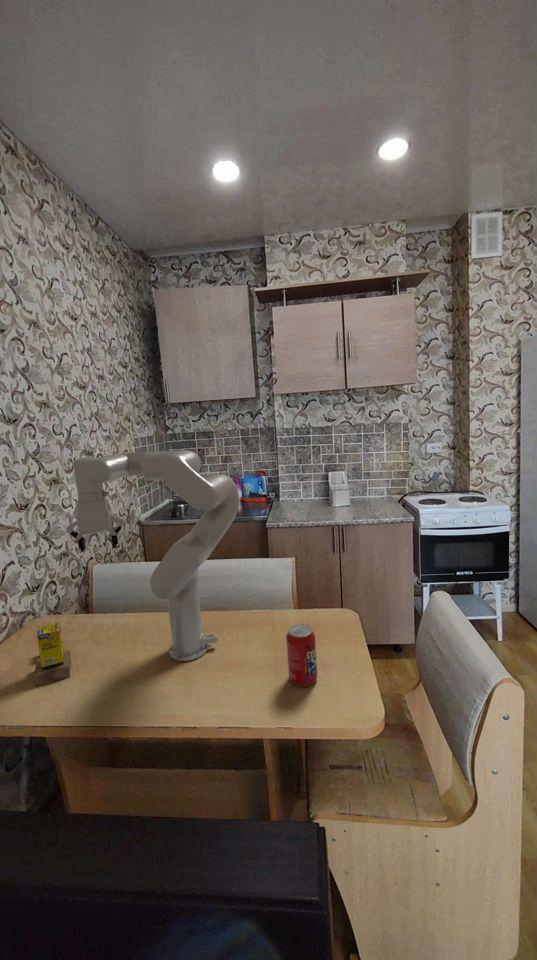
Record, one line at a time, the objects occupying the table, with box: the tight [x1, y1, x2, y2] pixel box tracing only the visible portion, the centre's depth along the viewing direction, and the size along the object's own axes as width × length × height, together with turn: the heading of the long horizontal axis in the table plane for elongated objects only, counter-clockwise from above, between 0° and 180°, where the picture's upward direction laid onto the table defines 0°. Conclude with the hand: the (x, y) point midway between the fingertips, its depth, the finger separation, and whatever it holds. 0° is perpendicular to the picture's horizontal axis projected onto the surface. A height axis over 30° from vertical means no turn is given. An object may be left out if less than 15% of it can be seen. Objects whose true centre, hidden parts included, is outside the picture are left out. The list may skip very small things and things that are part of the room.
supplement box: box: [36, 621, 65, 669], centre depth 124 cm, size 6×6×11 cm
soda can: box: [285, 623, 318, 687], centre depth 114 cm, size 8×8×15 cm
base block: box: [33, 650, 72, 688], centre depth 126 cm, size 9×9×4 cm
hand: (99, 548), depth 134 cm, fingers open, 9 cm apart
